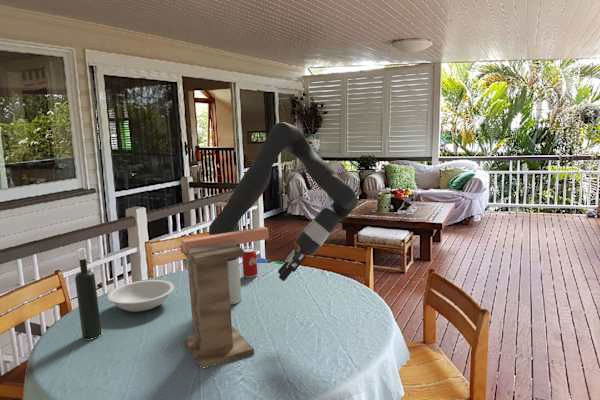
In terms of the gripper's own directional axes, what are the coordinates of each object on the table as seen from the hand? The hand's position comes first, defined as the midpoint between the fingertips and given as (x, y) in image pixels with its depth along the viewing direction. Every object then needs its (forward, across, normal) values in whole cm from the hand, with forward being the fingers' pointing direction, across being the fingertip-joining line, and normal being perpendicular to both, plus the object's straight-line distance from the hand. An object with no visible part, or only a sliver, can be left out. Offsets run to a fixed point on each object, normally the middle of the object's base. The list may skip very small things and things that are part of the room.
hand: (280, 276), depth 147 cm
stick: (+2, +8, -20) cm, 22 cm away
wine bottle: (+56, -10, -34) cm, 66 cm away
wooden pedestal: (+28, +6, -2) cm, 29 cm away
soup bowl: (+46, -32, -28) cm, 62 cm away
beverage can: (+16, -59, -1) cm, 61 cm away
